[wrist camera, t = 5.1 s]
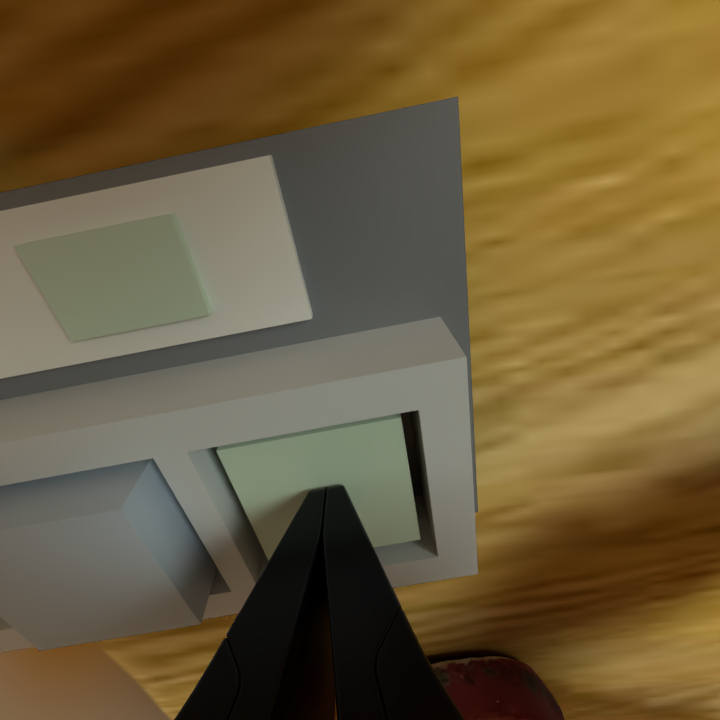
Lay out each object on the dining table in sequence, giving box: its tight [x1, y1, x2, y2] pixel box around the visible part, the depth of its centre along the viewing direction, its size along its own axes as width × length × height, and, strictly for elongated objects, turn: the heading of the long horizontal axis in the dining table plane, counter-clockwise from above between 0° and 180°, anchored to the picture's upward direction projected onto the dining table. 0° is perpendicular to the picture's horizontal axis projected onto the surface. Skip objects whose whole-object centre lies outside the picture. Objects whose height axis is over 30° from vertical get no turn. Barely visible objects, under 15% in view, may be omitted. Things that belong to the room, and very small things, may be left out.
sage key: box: [216, 413, 421, 561], centre depth 10 cm, size 4×4×2 cm
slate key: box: [0, 458, 217, 651], centre depth 9 cm, size 4×4×2 cm
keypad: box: [0, 97, 478, 653], centre depth 9 cm, size 19×11×3 cm, turn 100°
